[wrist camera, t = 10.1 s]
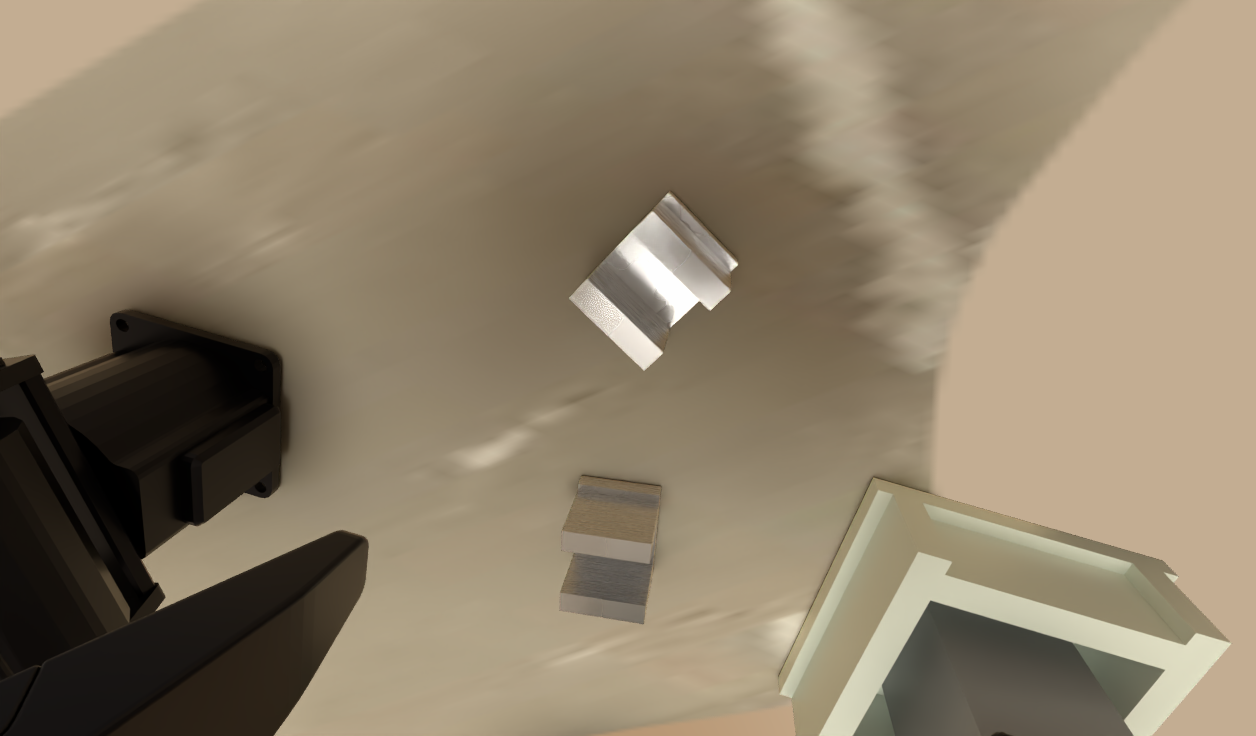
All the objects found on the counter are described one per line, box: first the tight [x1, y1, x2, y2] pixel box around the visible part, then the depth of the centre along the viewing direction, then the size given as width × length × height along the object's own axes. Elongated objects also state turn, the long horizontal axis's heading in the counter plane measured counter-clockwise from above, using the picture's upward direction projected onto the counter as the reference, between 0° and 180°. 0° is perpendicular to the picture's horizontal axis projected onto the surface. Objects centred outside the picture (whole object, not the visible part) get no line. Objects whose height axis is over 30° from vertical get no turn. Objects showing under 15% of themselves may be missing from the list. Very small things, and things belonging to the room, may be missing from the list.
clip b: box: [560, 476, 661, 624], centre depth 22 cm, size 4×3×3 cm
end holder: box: [778, 477, 1231, 736], centre depth 21 cm, size 10×10×4 cm
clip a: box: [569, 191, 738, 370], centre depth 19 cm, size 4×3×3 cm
